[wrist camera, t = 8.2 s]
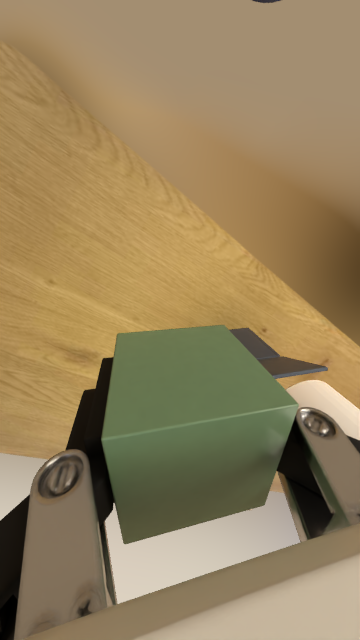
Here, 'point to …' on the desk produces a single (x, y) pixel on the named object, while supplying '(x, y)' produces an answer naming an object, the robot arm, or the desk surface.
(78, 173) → the desk surface
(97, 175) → the desk surface
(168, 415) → the block
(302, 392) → the white rounded tall casing
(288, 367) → the flap
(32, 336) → the desk surface
